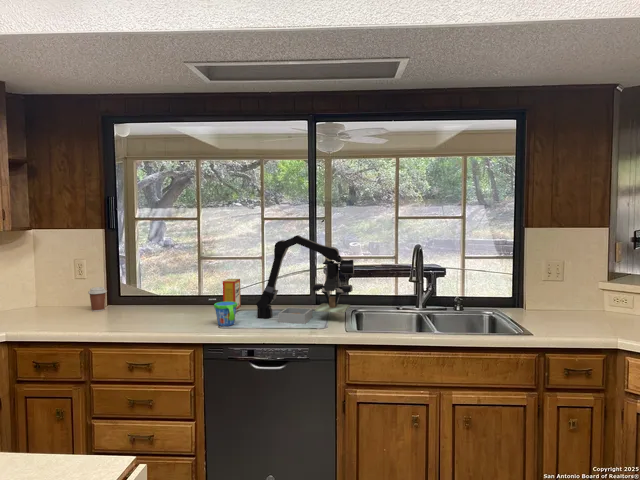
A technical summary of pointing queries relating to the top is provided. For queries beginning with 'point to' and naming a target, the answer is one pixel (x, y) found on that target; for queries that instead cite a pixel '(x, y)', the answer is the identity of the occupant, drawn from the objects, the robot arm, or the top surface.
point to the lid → (332, 306)
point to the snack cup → (225, 312)
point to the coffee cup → (97, 298)
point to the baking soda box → (232, 291)
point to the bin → (295, 315)
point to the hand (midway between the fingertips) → (332, 305)
